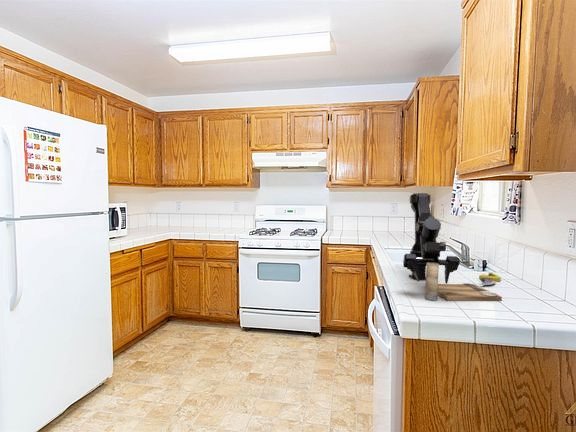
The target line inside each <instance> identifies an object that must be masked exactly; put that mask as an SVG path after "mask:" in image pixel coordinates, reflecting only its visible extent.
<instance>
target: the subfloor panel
mask: <svg viewBox="0 0 576 432" xmlns="http://www.w3.org/2000/svg"><path fill="white" fill-rule="evenodd" d="M424 285H425V287H426V283H425V284H424ZM425 287H424V288H425ZM438 296H439V297H440V298H442V299H444V300H445V301H447V302H502V301H503V299H502V298H503V297H502V296H501V295H499V294H497V293H495V292H493V291H490V290H487V289H486V288H483V287H481V286H480V285H478V284H474V283H447V284H446V283H438V291H437V297H438Z"/></svg>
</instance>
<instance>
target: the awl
mask: <svg viewBox="0 0 576 432" xmlns="http://www.w3.org/2000/svg"><path fill="white" fill-rule="evenodd" d="M439 269H440V265H439V264H438V263H434V262H427V266H426V275H425V277H426V279H425V284H426V288H425V287H424V288H425V289H424V290H425V291H424V299H425V300H426V301H431V302H436V301H438V295H437V291H438V284H439Z"/></svg>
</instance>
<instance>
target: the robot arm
mask: <svg viewBox="0 0 576 432" xmlns="http://www.w3.org/2000/svg"><path fill="white" fill-rule="evenodd" d="M409 204H410V208H411V210H412V211H413V212H414V244H413V245H412V247H411V250H410V251H409V253H405V254H404V256H403V261H402V262H403V264H402V265H403V268H406V269H407V270H409V271H410V272H411V274H408V277H409V278H411V279H413V280H416V281H417V282H420V280H426V268H427V262H434V263H438V264H439V266H444V282H445V283H444V284H448V282H449V279H450V278H449V277H450V275H451V273H453V272H455V271H457V270H458V269H459V265H460V263H461V261H460V257H459V256H454V255H447V256H446V258H445V259H439V258H440V257H441V252H445V251H447V243H446V241H439V242H437V238H438V236H439V235H440V234H439V233H440V230H441V226H442V223H441V221H440V220H439V219H437V218H435V216H433V215H432V214H431V208H430V204H431V195H430V194H429V193H428V192H427V193H426V192H423V193H422V192H421V193H420V192H418V193H412V194H410V196H409Z"/></svg>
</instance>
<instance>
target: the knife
mask: <svg viewBox="0 0 576 432" xmlns="http://www.w3.org/2000/svg"><path fill="white" fill-rule="evenodd" d="M501 278H502V277H501V276H499V275H498V274H496V273H495V272H488V274H480V275H479V277H478V279H480V282H482V283H480V284H479V283H477V286H485V285H487V286H489V285H493V284H495V283H496V282H499V281H500V282H501Z"/></svg>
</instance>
